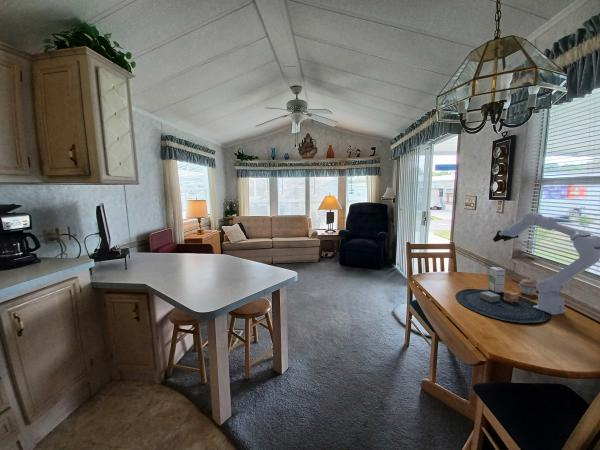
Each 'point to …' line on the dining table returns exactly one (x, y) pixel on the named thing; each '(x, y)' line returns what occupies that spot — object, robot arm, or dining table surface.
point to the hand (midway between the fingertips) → (498, 240)
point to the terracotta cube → (511, 296)
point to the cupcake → (528, 286)
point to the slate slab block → (489, 296)
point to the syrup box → (496, 279)
